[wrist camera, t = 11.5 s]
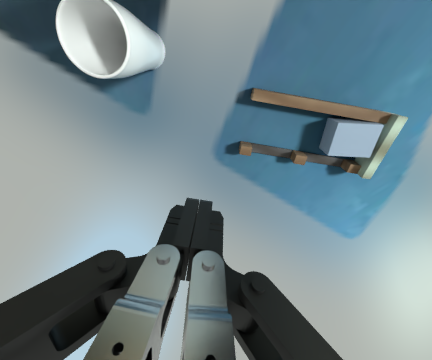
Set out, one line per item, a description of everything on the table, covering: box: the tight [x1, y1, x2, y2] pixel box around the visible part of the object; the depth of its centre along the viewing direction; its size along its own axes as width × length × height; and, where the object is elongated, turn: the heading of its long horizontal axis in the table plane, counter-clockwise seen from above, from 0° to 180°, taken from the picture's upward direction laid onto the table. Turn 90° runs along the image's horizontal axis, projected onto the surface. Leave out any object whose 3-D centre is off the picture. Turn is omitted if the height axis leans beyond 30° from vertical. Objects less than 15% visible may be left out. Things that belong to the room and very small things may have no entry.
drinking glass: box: [56, 0, 165, 79], centre depth 24 cm, size 7×7×15 cm
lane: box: [239, 88, 408, 179], centre depth 34 cm, size 11×24×4 cm, turn 81°
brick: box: [319, 118, 384, 158], centre depth 34 cm, size 6×7×4 cm
